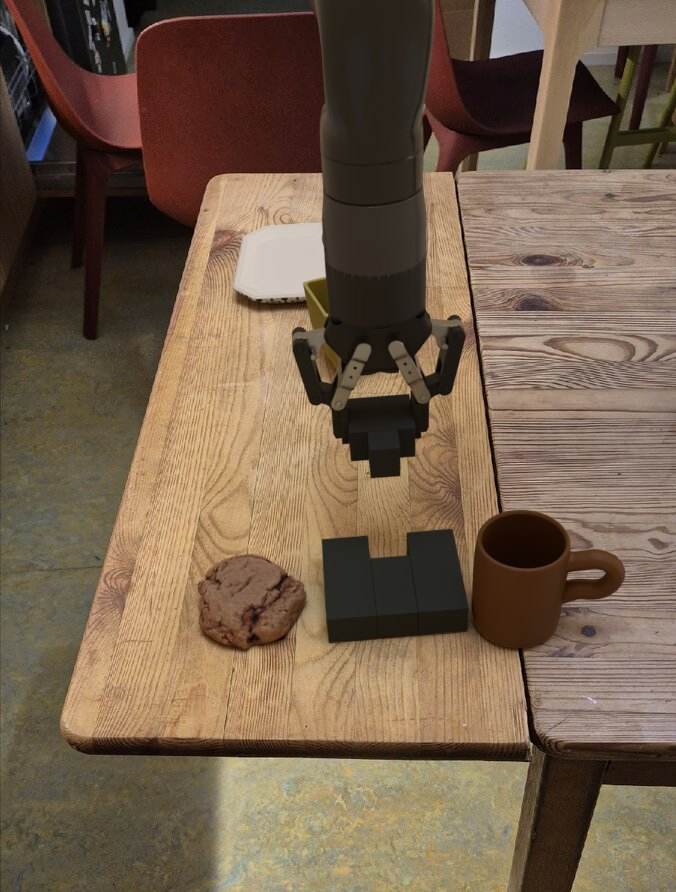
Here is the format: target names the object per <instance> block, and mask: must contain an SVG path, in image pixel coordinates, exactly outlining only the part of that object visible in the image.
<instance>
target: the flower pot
mask: <svg viewBox="0 0 676 892" xmlns="http://www.w3.org/2000/svg"><path fill="white" fill-rule="evenodd" d="M303 287H304V292H305V296H306V301H307V302H306V306H307V310H308V315H309V321H310V323H311V327H312V330H314V329H318V328H322V327H324V323H325V321H326V319H327V317H328V300H327V286H326V277H323V278H319V279H314V280H310V281H306V282H304V283H303ZM321 349H323V351H324V353H325V354H326V356H327V357H328V359H329V361H330V362H331V363H332V365H333V367H334V369H335V371H336V370H337V365H338V361H339V359H340V357H339V356H338V355H337V354H336V353H335V352H334V351H333V350H332V349H331V348H330V347H329V346H328V345H327V343H325V344H323V345H322V346H321Z"/></svg>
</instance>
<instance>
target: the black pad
mask: <svg viewBox="0 0 676 892" xmlns="http://www.w3.org/2000/svg"><path fill="white" fill-rule="evenodd" d="M347 403H348V415H349V424H348V426H349V443H350V444H348V445H349V456H350V462H363V461H368V468H369V475H370V479H382V478H383V479H385V478H397V477H398V478H399V477H401V475H402V472H401V471H402V470H401V469H402V466H401V459H403V458H415V457H416V439H415V434H416V428H415V422H414V418H413V415H412V409H411V404H410V393H404V394H391V395H389V394H388V395H379V396H377V395H375V396H364V397H353V398H352V397H351V398H350V397H349V398H348V401H347Z"/></svg>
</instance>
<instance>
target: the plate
mask: <svg viewBox="0 0 676 892" xmlns="http://www.w3.org/2000/svg"><path fill="white" fill-rule="evenodd" d="M322 233H323V232H322V221H319V222H302V223H300V222H299V223H284V224H283V223H281V224H268V225H264V226H262V227H259V228H258V229H256V230H254V231H251V232H249V233H248V234H245V235H244V236H243V237H242V238H241V242H240V247H239V253H238V258H237V264H236V268H235V273H234V279H233V283H232V290H233V291H234V292H235V293H236V294H239V295H241V296H242V297H245V298H246V299H249V300H251V301H253V302H258V303H259V302H260V303H264V304H270V305H274V304H276V305H277V304H278V305H279V304H295V303H307V301H306V296H305V292H304V287H303V283H304V282H306V281H310V280H314V279H319V278H323V277H326V273H325V259H324V246H323V242H322Z"/></svg>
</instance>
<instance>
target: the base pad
mask: <svg viewBox="0 0 676 892" xmlns="http://www.w3.org/2000/svg"><path fill="white" fill-rule="evenodd" d="M405 534H406V535H405V536H406V537H405V539H406V554H405V555H392V556H381V557H380V556H379V557H371V550H370V542H369V535H357V536H356V535H355V536H346V537H334V538H332V537H331V538H322V539H321V553H322V570H323V571H322V572H323V588H324V589H323V590H324V591H323V592H324V608H325V622H326V631H327V640H328V643H329V644H333V643H343V642H355V641H356V642H357V641H366V640H367V641H369V640H378V639H391V638H403V637H404V638H405V637H415V636H428V635H441V634H449V633H450V634H452V633H453V634H454V633H463V632H468V630H469V613H470V612H469V610H470V606H469V602H468V597H467V593H466V587H465V583H464V576H463V573H462V567H461V563H460V562H461V561H460V557H459V553H458V552H459V551H458V547H457V543H456V538H455V532H454V529H453V528H444V529H431V530H418V531H408V532H406V533H405Z"/></svg>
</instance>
